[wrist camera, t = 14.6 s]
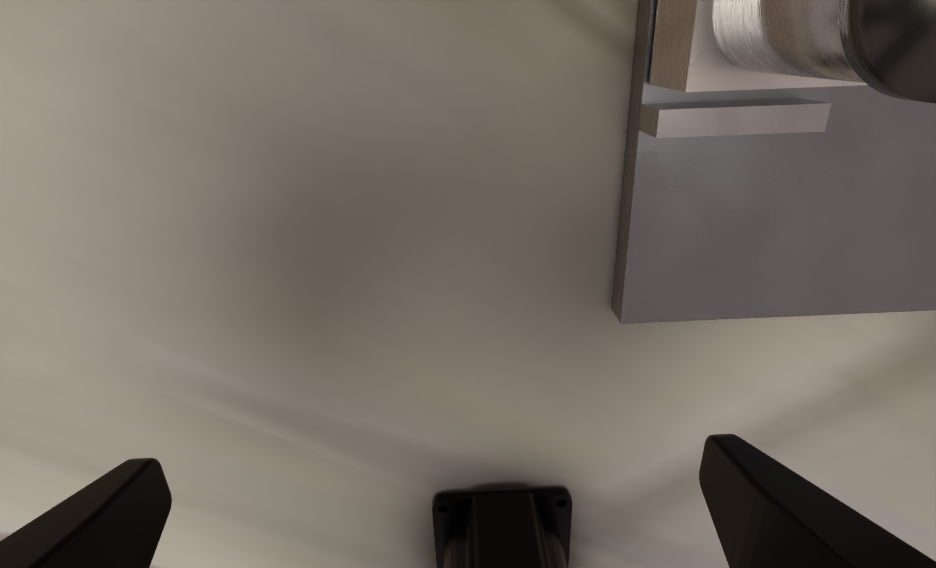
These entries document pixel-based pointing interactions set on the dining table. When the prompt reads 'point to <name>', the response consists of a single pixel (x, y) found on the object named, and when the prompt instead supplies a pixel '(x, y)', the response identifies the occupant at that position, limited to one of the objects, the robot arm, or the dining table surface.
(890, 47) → the ram
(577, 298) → the dining table surface
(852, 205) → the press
